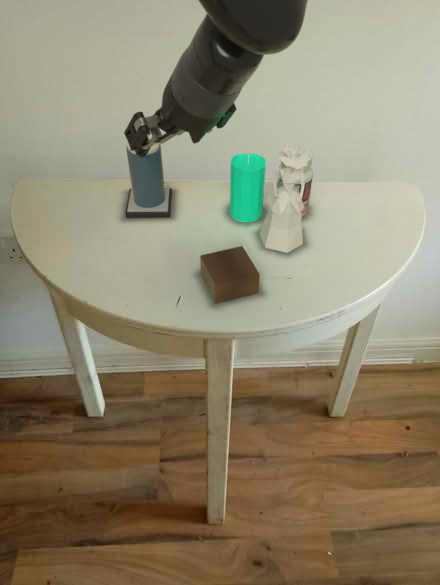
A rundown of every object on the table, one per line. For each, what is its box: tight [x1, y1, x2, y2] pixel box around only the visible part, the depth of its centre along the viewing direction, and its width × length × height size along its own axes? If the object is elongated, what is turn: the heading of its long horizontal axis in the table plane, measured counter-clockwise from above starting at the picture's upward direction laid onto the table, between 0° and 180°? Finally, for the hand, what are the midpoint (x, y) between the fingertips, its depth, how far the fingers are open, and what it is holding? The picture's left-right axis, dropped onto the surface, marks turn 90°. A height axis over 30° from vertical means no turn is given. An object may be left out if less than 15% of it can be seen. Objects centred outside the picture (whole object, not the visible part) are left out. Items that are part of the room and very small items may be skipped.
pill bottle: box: [277, 146, 314, 217], centre depth 88 cm, size 6×6×11 cm
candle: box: [229, 152, 267, 223], centre depth 87 cm, size 6×6×12 cm
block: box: [199, 245, 261, 305], centre depth 77 cm, size 7×7×4 cm
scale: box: [124, 187, 173, 219], centre depth 93 cm, size 8×8×1 cm
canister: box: [125, 135, 166, 208], centre depth 88 cm, size 6×6×11 cm
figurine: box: [259, 143, 308, 254], centre depth 80 cm, size 7×8×18 cm
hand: (166, 144), depth 72 cm, fingers open, 8 cm apart
